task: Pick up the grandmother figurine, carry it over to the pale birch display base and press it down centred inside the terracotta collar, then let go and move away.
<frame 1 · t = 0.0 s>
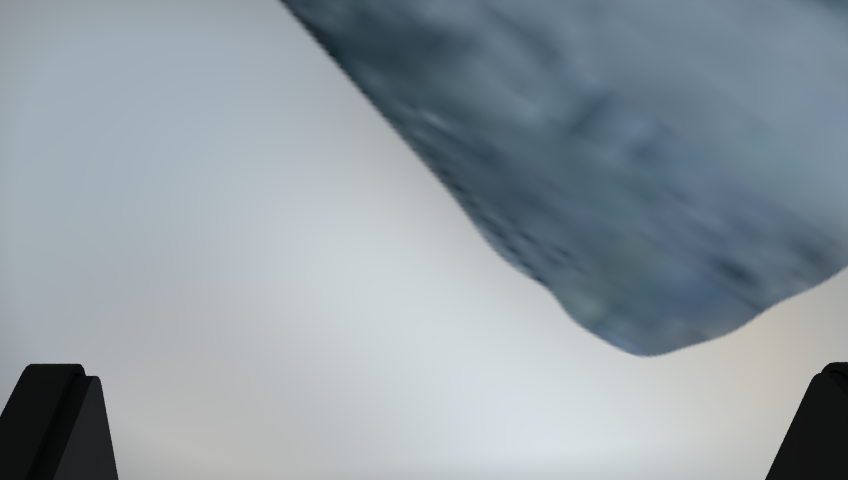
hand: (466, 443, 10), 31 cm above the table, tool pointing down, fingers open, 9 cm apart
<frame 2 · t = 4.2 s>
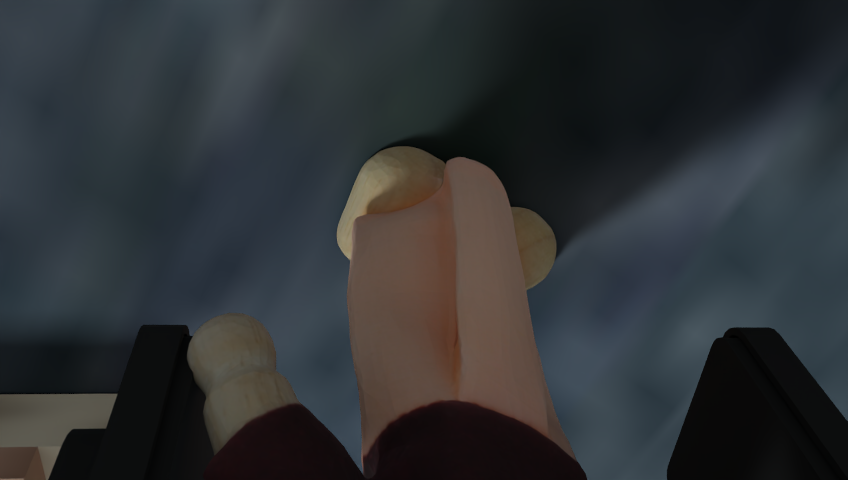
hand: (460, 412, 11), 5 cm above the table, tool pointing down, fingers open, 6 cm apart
grandmother figurine: (422, 216, 15), on the table, touching gripper
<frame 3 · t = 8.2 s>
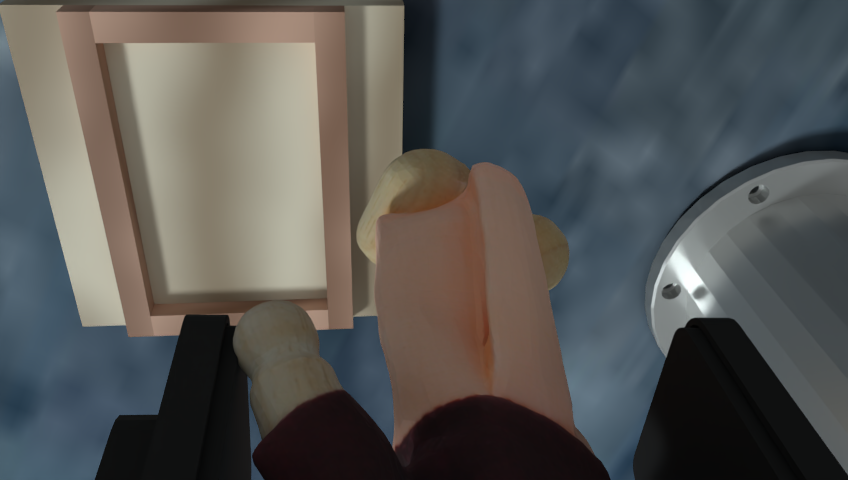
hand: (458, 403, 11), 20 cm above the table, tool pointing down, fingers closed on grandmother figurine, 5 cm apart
display base: (232, 164, 30), on the table
grandmother figurine: (441, 218, 16), point 14 cm above the table, touching gripper
when the fingers open (7 cm above the table, at t = 11.9 s): grandmother figurine stays where it is, resting on display base.
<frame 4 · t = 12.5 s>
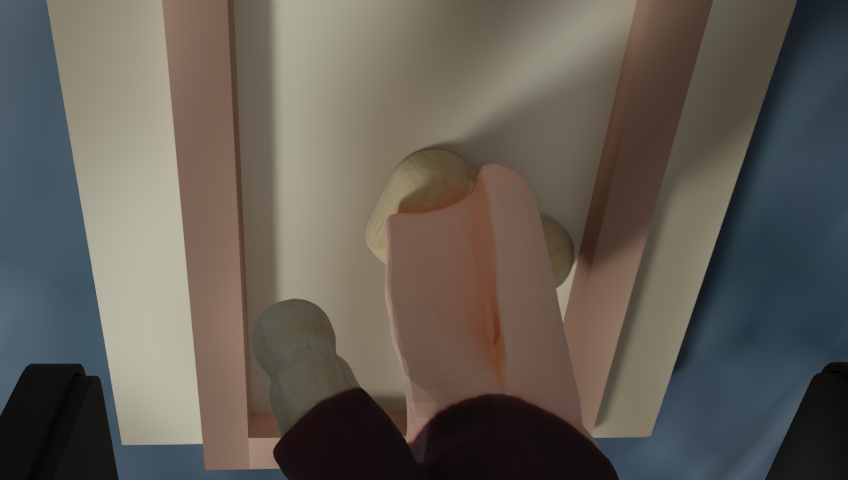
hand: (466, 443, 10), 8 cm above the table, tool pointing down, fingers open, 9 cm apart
display base: (413, 176, 17), on the table
grandmother figurine: (448, 218, 16), point 1 cm above the table, touching display base
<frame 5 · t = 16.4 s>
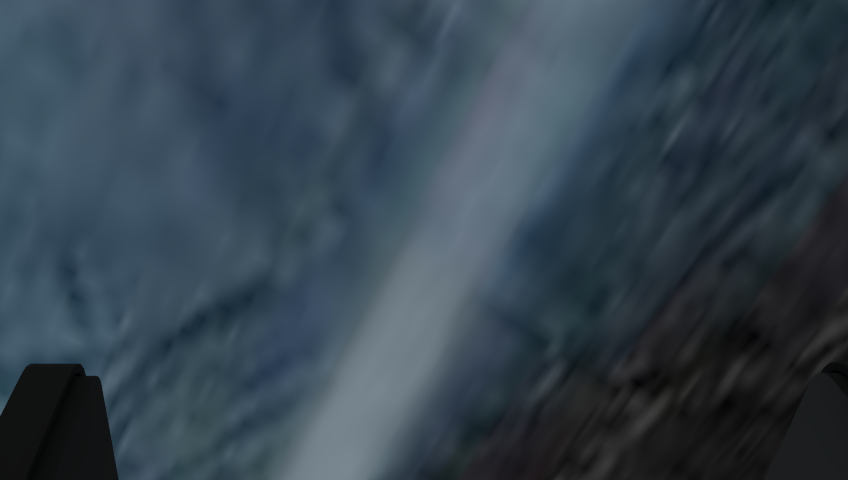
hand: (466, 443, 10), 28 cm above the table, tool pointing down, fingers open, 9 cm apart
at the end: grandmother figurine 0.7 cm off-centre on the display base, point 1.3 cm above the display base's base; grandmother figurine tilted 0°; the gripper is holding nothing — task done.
